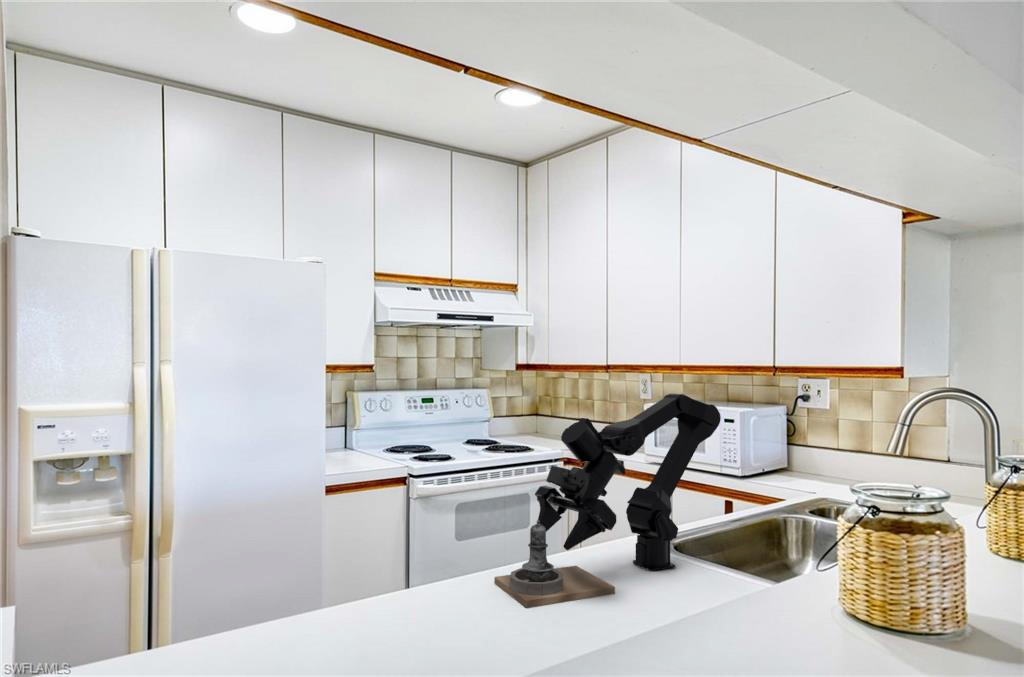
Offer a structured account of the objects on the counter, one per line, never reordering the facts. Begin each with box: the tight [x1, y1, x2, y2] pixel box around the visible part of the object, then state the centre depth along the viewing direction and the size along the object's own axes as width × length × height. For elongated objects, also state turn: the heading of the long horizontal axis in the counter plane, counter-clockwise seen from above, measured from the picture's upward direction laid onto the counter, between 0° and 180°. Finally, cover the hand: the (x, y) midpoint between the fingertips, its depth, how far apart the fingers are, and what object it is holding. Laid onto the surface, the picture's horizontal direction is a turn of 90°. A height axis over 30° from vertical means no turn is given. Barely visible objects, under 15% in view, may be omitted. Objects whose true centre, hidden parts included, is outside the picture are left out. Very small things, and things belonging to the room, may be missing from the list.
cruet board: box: [494, 565, 616, 609], centre depth 119 cm, size 18×14×3 cm
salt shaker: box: [521, 519, 555, 582], centre depth 117 cm, size 6×6×12 cm
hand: (549, 542), depth 119 cm, fingers open, 9 cm apart
